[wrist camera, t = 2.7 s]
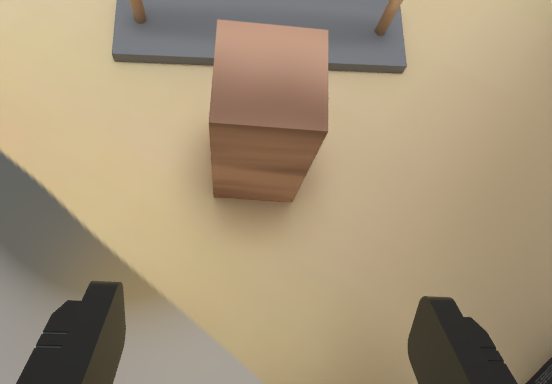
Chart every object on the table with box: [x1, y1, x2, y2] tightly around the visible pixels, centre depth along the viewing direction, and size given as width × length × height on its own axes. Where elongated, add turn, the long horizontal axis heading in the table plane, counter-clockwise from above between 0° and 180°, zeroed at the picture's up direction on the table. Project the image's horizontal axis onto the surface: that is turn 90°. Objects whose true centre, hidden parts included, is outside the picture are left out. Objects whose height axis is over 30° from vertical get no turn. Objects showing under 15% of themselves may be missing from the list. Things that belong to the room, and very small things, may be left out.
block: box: [209, 19, 328, 202], centre depth 24 cm, size 4×4×10 cm
